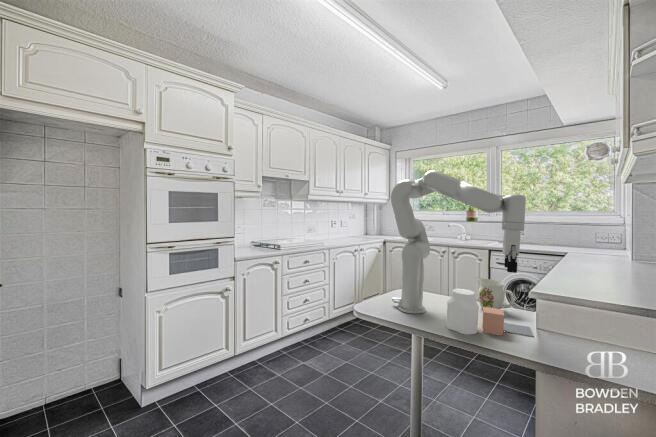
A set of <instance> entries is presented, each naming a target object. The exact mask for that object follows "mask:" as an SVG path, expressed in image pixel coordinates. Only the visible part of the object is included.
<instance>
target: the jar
mask: <svg viewBox="0 0 656 437" xmlns="http://www.w3.org/2000/svg"><path fill="white" fill-rule="evenodd" d="M478 303H479V302H477V300H476V292H475V291H472V290H470V289H468V288H467V289H466V288H454V289H452V292H451V296H450V297H449V299H448V300H447V303H446V306H447V308H446V309H447V310H446V321H445V327H446V328H447V329H448V330H450V331H455V332H458V333H460V334H462V335H475V334H477V333H478V331H479V330H478V323H479V308H480V304H478Z"/></svg>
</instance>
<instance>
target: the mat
mask: <svg viewBox="0 0 656 437" xmlns="http://www.w3.org/2000/svg"><path fill="white" fill-rule="evenodd" d="M504 331H505V332H504ZM503 332H504V333H507V332H509V334H513V333H514V334H513V335H518V334H519V335H520V336H525V337H531V338H534V333H533V331H532V329H531V327H530V326H527V325H521V324H520V325H519V324H515V323H509V322H504V327H503Z"/></svg>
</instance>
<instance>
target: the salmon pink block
mask: <svg viewBox="0 0 656 437" xmlns="http://www.w3.org/2000/svg"><path fill="white" fill-rule="evenodd" d="M504 323H505V313H504V309H503V308H501V309H495V308H488V307H483V309H482V324H481V329H482V333H484V332H487V333H486V334H489V333H493V334H492V335H495V334H498V335H497V336H500V335H503V336H504V331H503V327H504Z"/></svg>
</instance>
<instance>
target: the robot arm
mask: <svg viewBox="0 0 656 437" xmlns="http://www.w3.org/2000/svg"><path fill="white" fill-rule="evenodd" d="M433 193H438V194H441V195H443V196H445V197H447V198H449V199H452V200H455V201H458V202H460V203H463V204H466V205H468V206H470V207H473V208H475V209H477V210H480V211H482V212H485V213H487V214H492V213H502V220H501V221H502V222H501V230H502V231H504V232H503V238H502V240H503V242H502V250H501V251H502V254H503V256H505V257H504V268H506V272H507V273H514V274H516V273H518V257H519V256H520V246H521V232H525V219H526V204H527V198H526V196H525V195H523V194H507V195H502V194H497V193H492V192H490V191H487V190H484V189H482V188H478V187H476V186H475V185H472V184H470V183H468V182H467V181H464V180H463V179H460V178H457V177H454V176H451V175H449V174H448V173H447V174H446V173H445V172H441V171H438V170H437V169H436V170H435V169H431V170H428V171H427V172H425V173H424V174H423V177H421V178H418V179H415V180H413V179H403V180H400V181H399V182H398V183H396V184H395V185H394V187H393V188H392V191H391V194H390V202H391V206H392V209H393V210H392V212H393V214H394V218H395V223H396V225H397V230H398V233H399V236H400V237H401V238H403V240H404V239H406V240H408V241H407V243H406V244H404V246H403V248H402V250H401V262H402V264H401V265H402V274H401V275H402V277H401V281H402V282H401V297H392V300H391V301H392V302H393V303H394V304H397V309H398V310H399V311H400V312H403V313H406V314H414V315H417V314H418V315H420V314H424V313H426V311H427V308H426V307H425V305H423V299H424V279H425V276H424V275H425V267H424V260H425V259H427V258H428V256H429V255H430V253H431V246H430V242H429V239H428V235H427V231H426V228H425V225H424V223H423V222H422V221H421V219H418V218H416V217H415V214H414V210H413V207H412V205H411V203H410V199H419V198H421V197H425V196H427V195H430V194H433Z"/></svg>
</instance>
